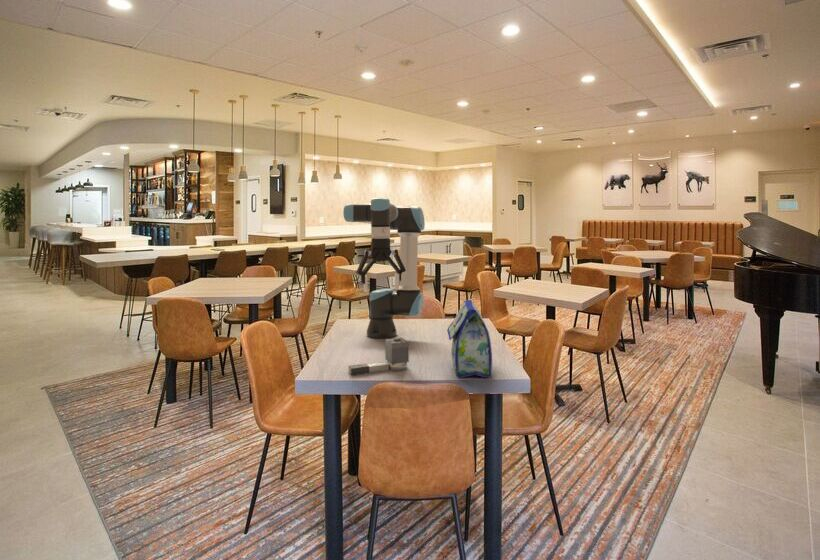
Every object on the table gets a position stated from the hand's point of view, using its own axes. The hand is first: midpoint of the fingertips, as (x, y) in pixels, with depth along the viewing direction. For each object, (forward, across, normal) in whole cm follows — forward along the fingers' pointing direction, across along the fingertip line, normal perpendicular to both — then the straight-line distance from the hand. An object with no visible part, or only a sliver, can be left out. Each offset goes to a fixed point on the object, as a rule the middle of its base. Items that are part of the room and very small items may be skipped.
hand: (381, 290), depth 192 cm
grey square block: (+26, +2, -11) cm, 28 cm away
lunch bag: (+29, +26, -25) cm, 47 cm away
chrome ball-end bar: (+29, -6, -11) cm, 32 cm away
